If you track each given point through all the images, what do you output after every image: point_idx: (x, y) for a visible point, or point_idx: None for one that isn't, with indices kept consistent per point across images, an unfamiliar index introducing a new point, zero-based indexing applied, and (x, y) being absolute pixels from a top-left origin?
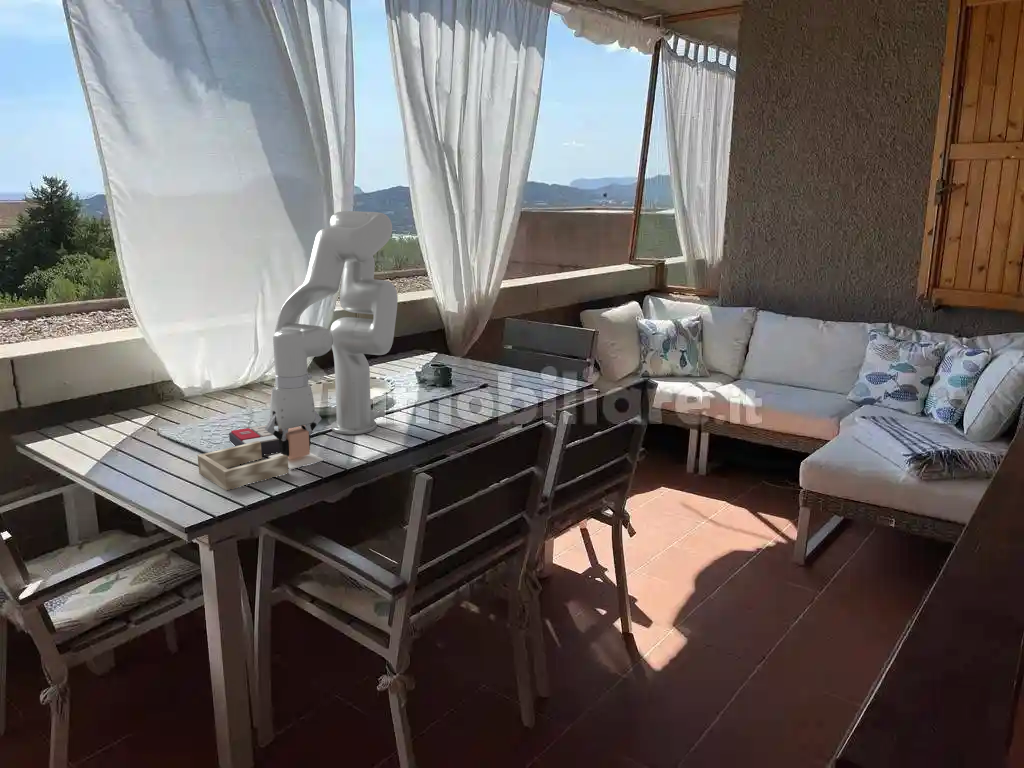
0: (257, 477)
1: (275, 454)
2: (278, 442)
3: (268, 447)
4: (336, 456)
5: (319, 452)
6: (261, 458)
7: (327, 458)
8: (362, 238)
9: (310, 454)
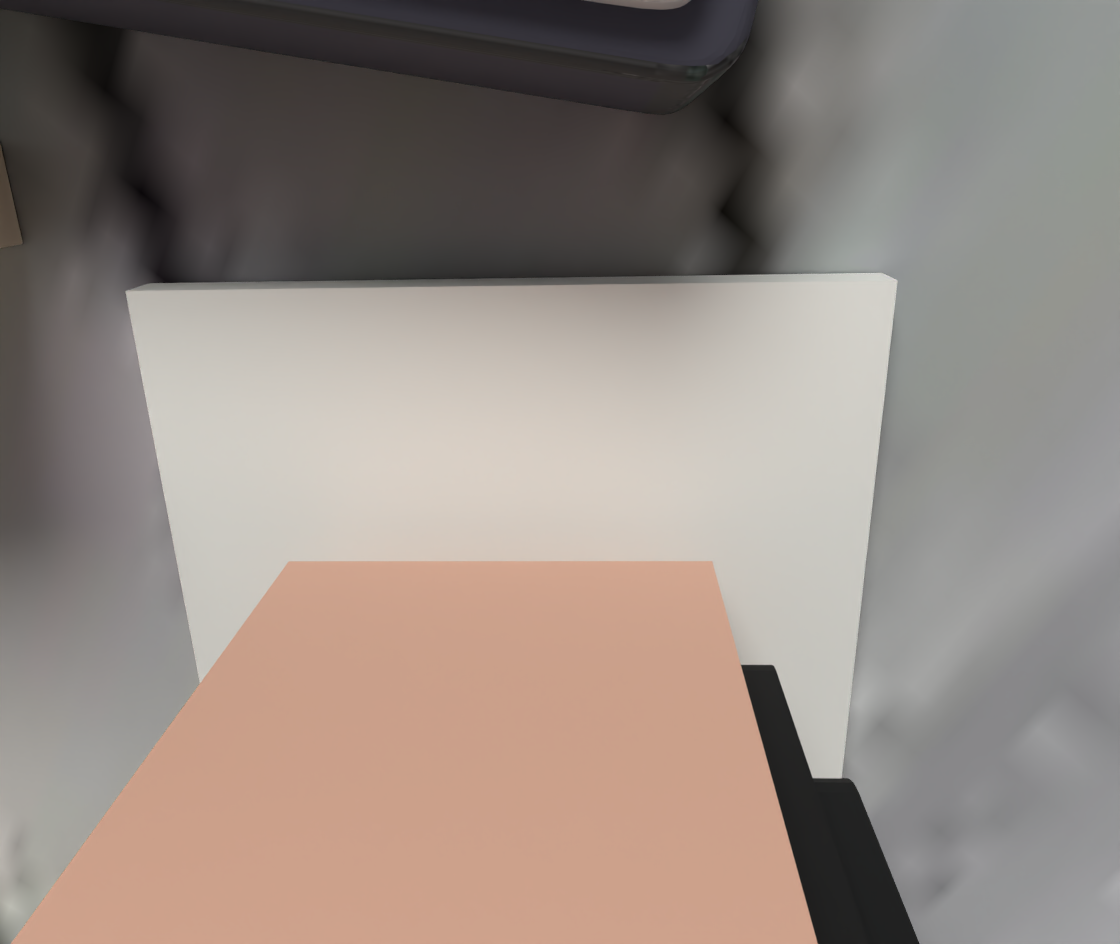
0: None
1: (284, 291)
2: (423, 50)
3: (165, 17)
4: (1093, 904)
5: (1046, 601)
6: (2, 247)
7: (936, 889)
8: None
9: (799, 714)
